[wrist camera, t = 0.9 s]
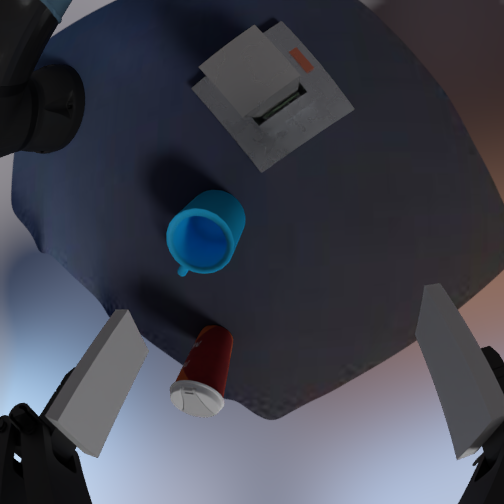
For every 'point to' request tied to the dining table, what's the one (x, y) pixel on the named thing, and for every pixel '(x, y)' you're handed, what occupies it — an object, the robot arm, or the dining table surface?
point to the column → (253, 74)
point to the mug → (206, 232)
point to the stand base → (290, 115)
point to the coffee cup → (204, 374)
